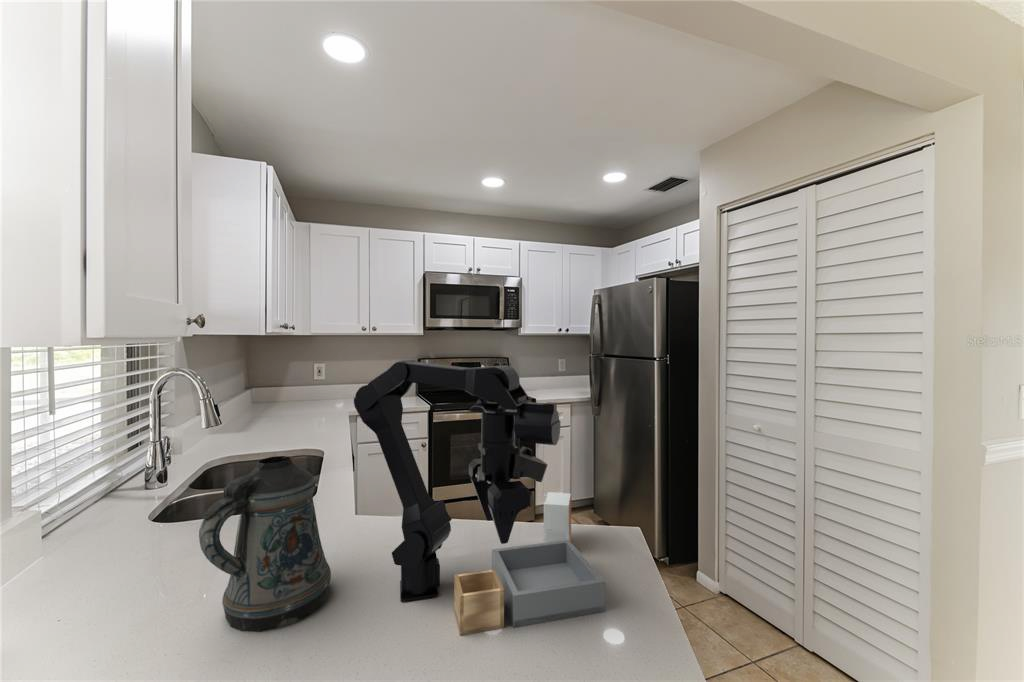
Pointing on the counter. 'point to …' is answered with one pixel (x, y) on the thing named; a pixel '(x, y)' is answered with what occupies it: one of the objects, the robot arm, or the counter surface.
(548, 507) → the small box
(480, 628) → the oak crate
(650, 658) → the counter surface
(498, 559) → the slate gray crate
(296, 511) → the beer stein
